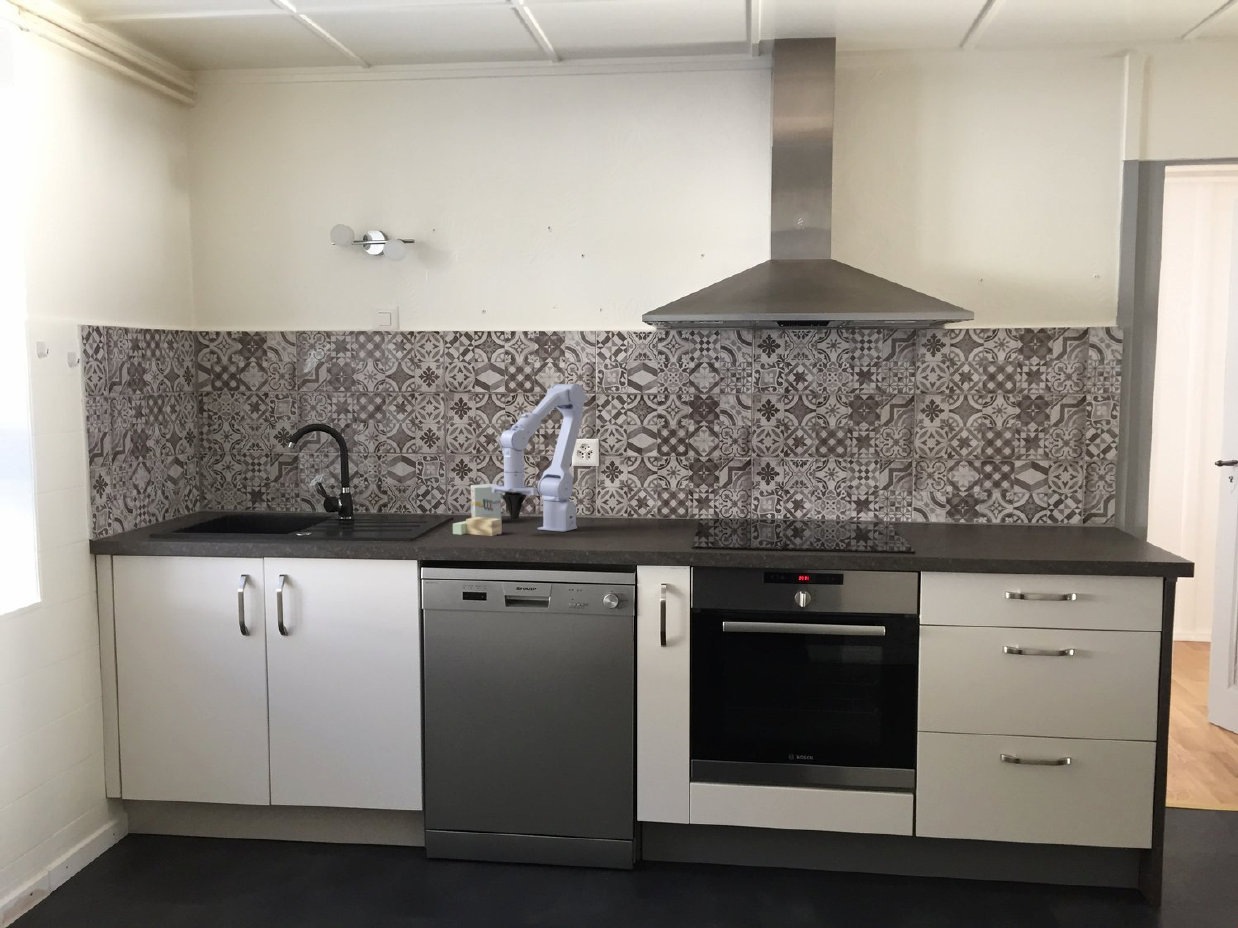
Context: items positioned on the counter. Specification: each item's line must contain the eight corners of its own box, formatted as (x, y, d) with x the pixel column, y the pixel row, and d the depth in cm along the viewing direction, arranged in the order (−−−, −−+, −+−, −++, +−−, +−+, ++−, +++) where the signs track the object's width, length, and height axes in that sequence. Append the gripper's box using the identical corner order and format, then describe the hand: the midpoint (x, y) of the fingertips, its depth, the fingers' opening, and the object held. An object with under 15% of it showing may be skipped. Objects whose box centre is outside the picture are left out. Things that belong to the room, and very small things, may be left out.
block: (501, 534, 288) (501, 519, 288) (491, 536, 284) (491, 521, 283) (476, 531, 292) (476, 516, 292) (466, 534, 288) (466, 519, 287)
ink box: (470, 520, 314) (469, 484, 313) (496, 519, 316) (496, 483, 315) (474, 524, 305) (474, 486, 304) (501, 523, 308) (501, 486, 307)
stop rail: (489, 528, 298) (489, 518, 298) (461, 534, 286) (461, 524, 285) (481, 527, 299) (481, 517, 299) (452, 533, 287) (452, 523, 287)
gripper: (485, 472, 282) (485, 518, 284) (527, 474, 276) (528, 522, 277) (499, 469, 289) (500, 515, 290) (541, 471, 282) (541, 518, 283)
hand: (514, 518), depth 284 cm, fingers closed
